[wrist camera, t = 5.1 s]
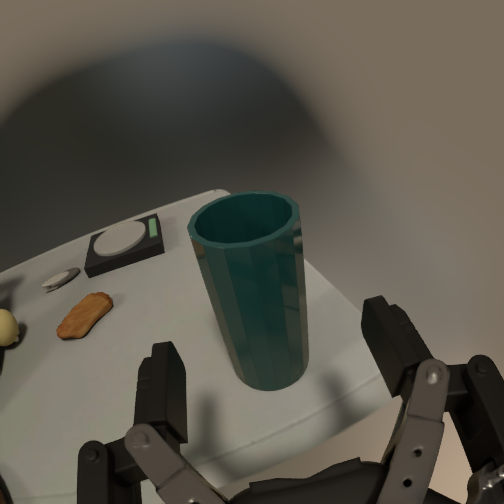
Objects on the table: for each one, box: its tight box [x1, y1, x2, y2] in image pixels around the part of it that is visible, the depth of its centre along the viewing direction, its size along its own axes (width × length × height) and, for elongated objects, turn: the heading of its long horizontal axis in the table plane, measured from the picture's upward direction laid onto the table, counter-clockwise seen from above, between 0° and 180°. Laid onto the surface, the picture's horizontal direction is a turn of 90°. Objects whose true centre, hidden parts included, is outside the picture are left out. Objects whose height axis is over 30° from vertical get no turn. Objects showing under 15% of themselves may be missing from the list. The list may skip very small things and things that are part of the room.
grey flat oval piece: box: [42, 268, 80, 292], centre depth 38 cm, size 6×2×1 cm, turn 131°
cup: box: [187, 190, 309, 391], centre depth 21 cm, size 6×6×13 cm
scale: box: [84, 213, 164, 278], centre depth 42 cm, size 11×9×2 cm
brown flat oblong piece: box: [56, 292, 112, 339], centre depth 30 cm, size 8×2×5 cm
